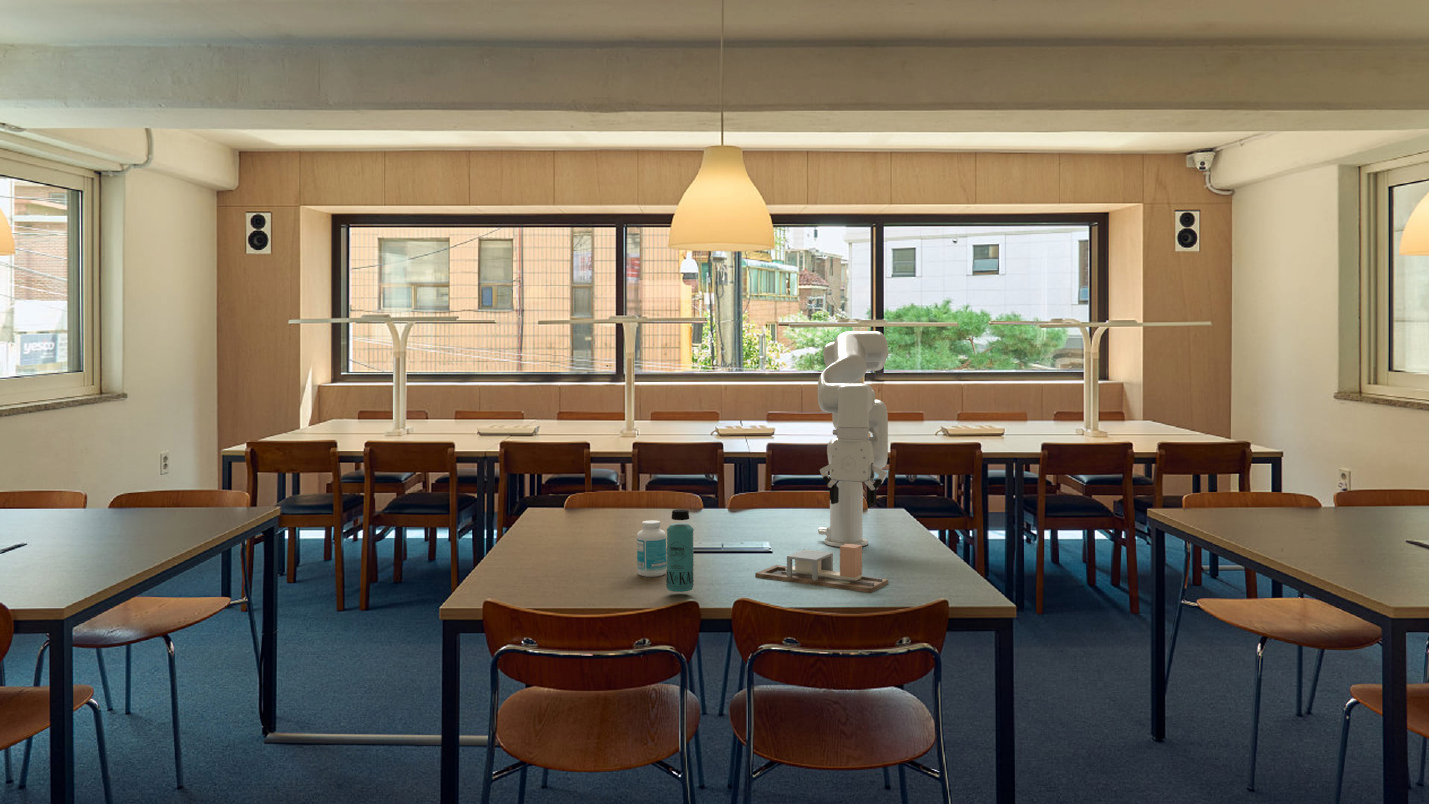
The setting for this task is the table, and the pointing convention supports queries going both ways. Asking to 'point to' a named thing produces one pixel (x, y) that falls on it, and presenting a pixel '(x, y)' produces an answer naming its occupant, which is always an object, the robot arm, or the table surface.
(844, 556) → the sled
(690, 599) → the table surface
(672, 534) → the beverage bottle
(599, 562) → the table surface
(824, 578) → the rail board
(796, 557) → the bridge tunnel
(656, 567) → the pill bottle
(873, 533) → the table surface
